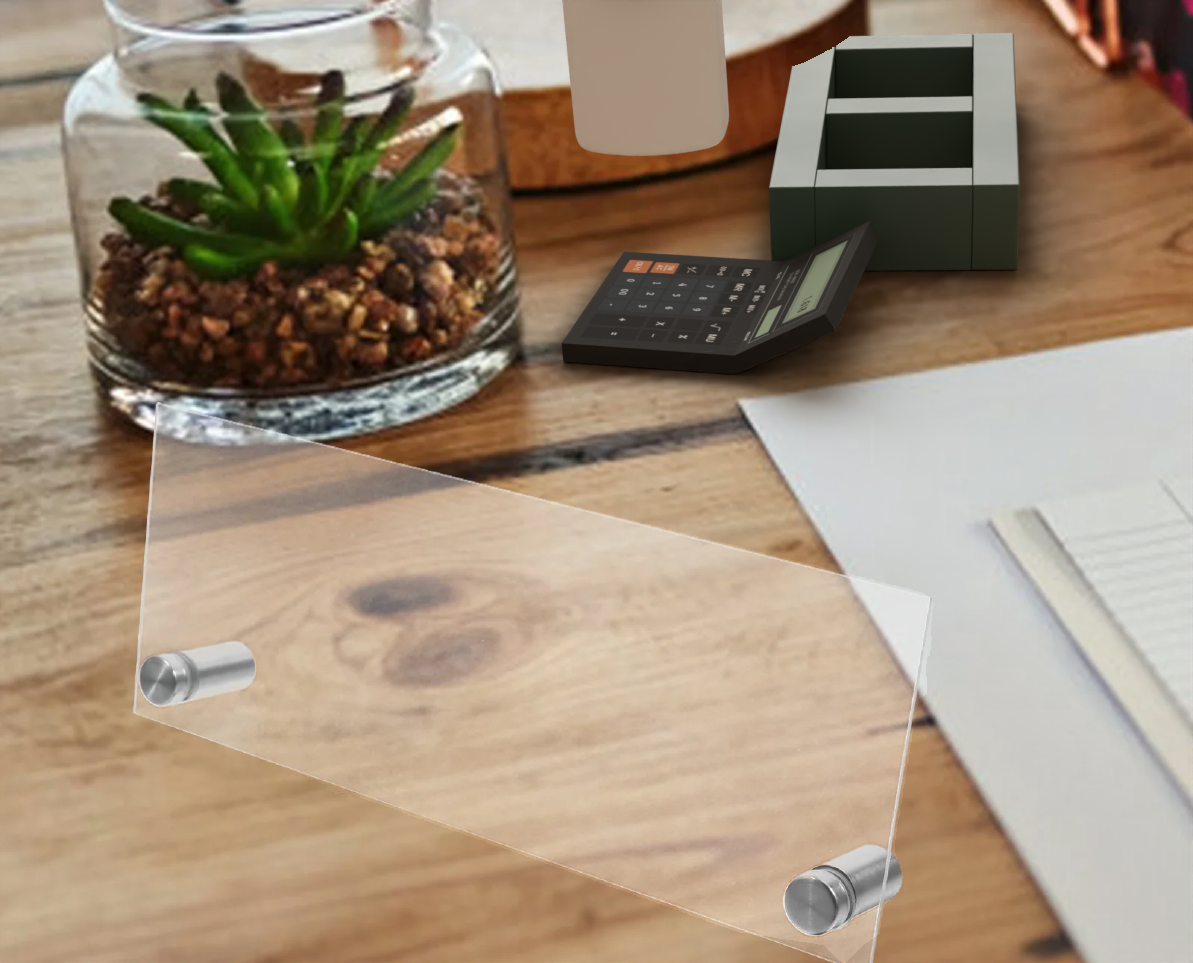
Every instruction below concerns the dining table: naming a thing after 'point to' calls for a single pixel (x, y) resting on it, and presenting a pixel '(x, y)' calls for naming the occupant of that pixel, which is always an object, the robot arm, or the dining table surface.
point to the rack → (902, 152)
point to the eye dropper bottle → (647, 75)
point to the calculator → (718, 307)
